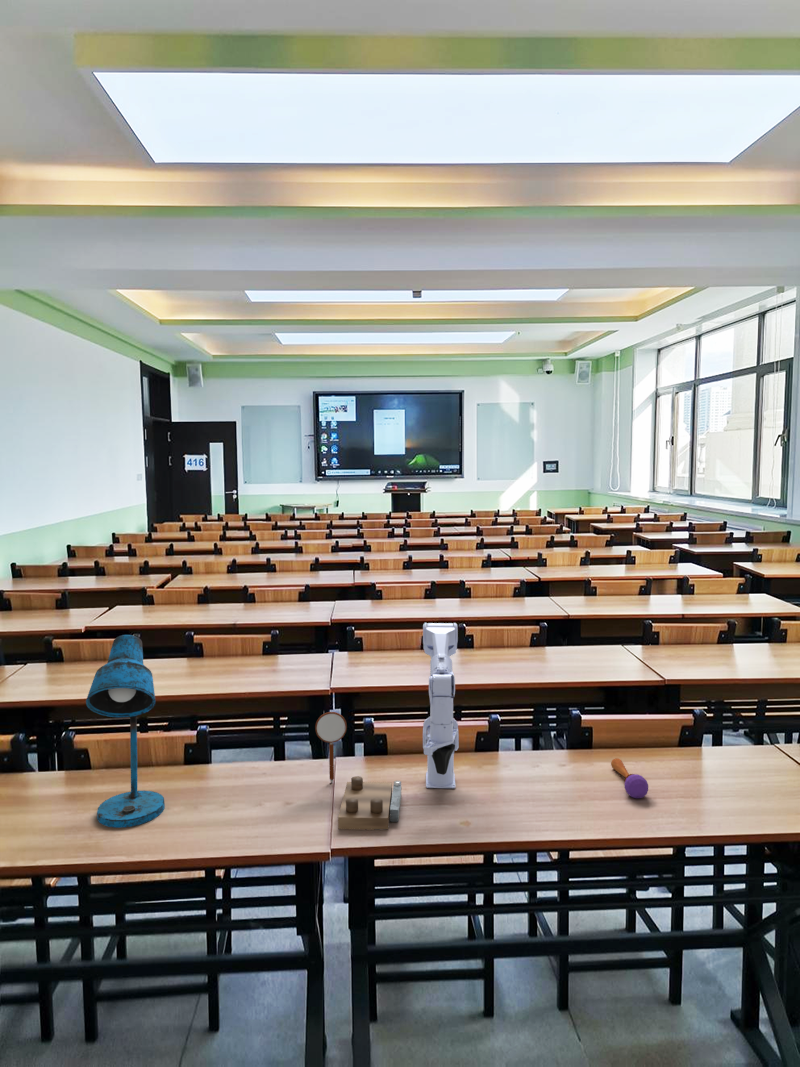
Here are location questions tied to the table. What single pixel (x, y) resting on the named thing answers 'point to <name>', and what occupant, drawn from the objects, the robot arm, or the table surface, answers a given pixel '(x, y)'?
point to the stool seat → (365, 805)
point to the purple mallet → (631, 780)
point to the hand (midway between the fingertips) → (441, 773)
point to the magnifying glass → (331, 733)
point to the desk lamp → (130, 694)
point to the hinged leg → (395, 802)
